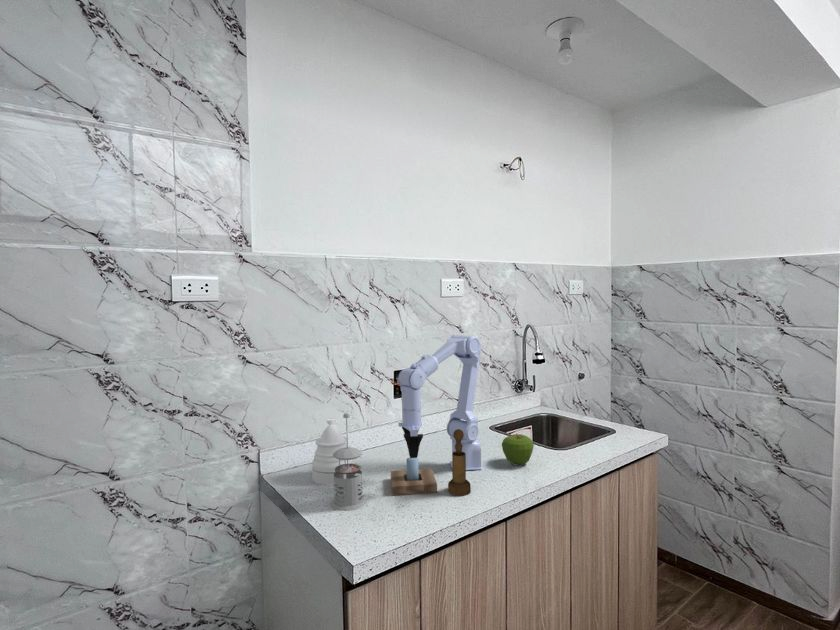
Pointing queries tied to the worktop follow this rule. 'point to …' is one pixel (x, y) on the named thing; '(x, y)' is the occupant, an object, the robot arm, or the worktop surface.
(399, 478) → the socket block
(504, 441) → the apple
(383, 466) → the worktop surface
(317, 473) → the honey pot
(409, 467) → the peg
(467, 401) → the robot arm
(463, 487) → the mortar and pestle
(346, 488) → the french press
